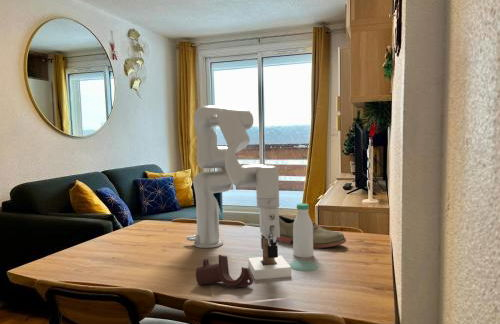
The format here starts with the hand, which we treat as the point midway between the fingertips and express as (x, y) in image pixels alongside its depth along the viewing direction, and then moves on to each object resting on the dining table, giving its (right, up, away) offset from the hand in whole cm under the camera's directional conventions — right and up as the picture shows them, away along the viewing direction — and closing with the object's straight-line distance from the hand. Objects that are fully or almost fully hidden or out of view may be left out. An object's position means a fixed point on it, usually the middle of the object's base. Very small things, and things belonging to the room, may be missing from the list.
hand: (269, 253), depth 119 cm
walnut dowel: (0, -6, +1) cm, 6 cm away
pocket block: (0, -7, +1) cm, 7 cm away
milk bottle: (+14, -6, +18) cm, 23 cm away
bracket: (-14, -8, -9) cm, 19 cm away
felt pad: (+12, -6, +5) cm, 15 cm away
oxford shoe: (+19, -5, +33) cm, 38 cm away
